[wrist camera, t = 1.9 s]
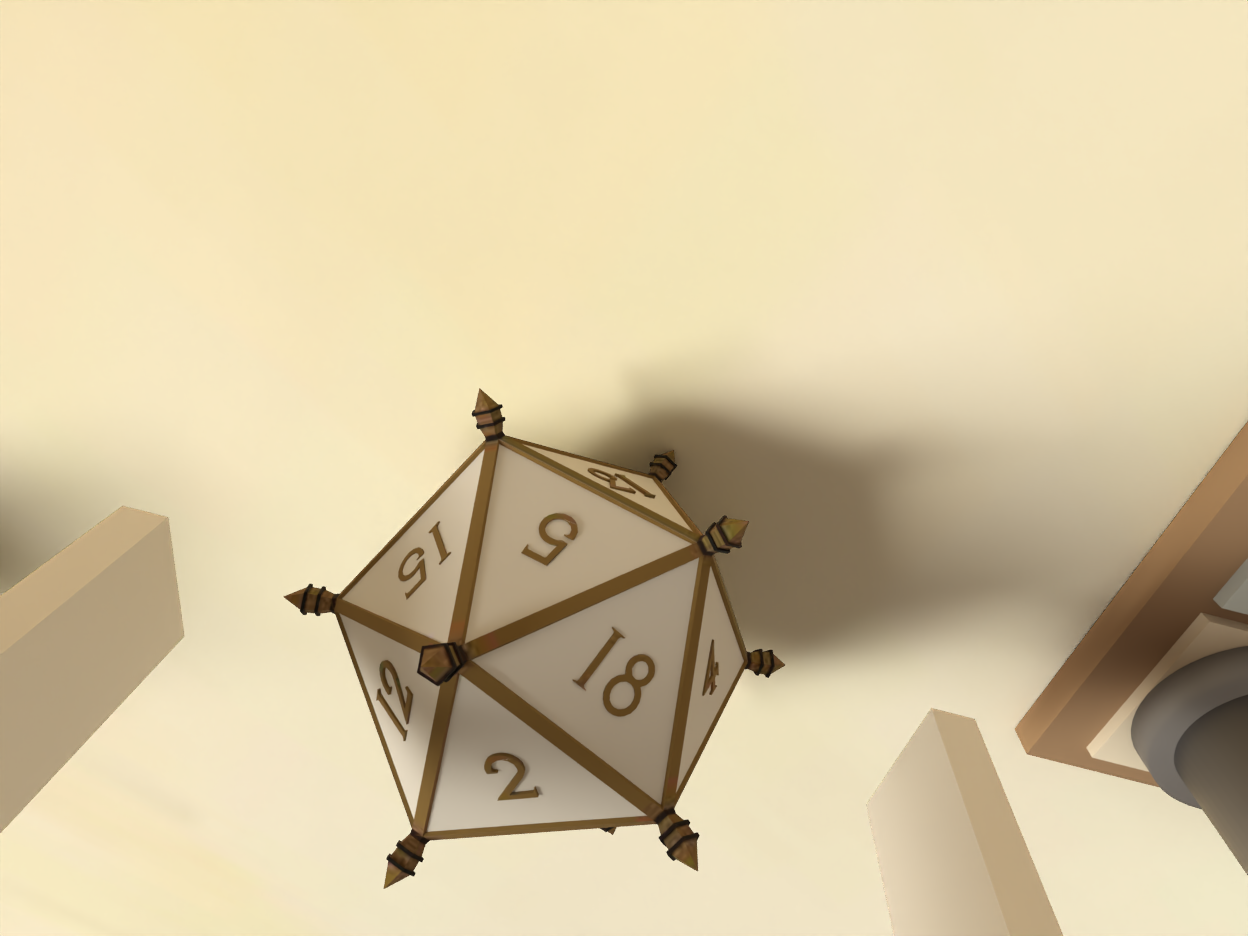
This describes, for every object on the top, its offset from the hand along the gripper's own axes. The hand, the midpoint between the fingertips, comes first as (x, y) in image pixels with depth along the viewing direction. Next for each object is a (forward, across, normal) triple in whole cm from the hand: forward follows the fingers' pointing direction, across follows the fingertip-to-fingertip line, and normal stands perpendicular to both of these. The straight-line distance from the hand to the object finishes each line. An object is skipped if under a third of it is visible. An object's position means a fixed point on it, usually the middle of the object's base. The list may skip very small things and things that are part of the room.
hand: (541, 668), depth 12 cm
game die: (+6, 0, 0) cm, 6 cm away
